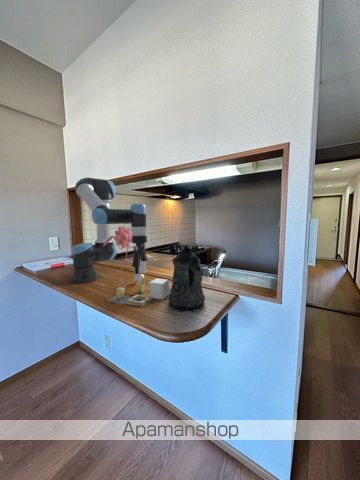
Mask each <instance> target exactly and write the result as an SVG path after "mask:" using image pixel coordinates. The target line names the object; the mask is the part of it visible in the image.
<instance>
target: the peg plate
mask: <svg viewBox="0 0 360 480" xmlns="http://www.w3.org/2000/svg"><path fill="white" fill-rule="evenodd" d="M115 290H116V295H115V296H113V297H112V298H109V299H108V300H107V302H109V303H110V302H111V303H115V304H121V305H123V304H124V303H127V300H128V299H130V298H132V297H133V295H125V288H124V286H123V287H122V286H121V287H120V286H119V288H116V289H115Z"/></svg>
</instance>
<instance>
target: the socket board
mask: <svg viewBox="0 0 360 480" xmlns="http://www.w3.org/2000/svg"><path fill="white" fill-rule="evenodd" d="M132 296H133V295H132ZM150 301H152V298H151V297H150V295H144V294H138V293H137V294H135V295H134V296H133V297H132V298H130V299H128V300H127V301H126V305H130V306H135V307H143V306H145V305H146V304H147V303H149V302H150Z"/></svg>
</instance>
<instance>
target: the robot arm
mask: <svg viewBox="0 0 360 480" xmlns="http://www.w3.org/2000/svg"><path fill="white" fill-rule="evenodd" d="M74 191H75V194H76V195H77V196H78V198H80V199H81V200H82V201H83V202H84V203H85V204H86V206H87V207H88V208H89V209H90V210H91V220H92V222H93V223H94V224H95V225H96V238H97V239H96V240H94V244H93V242H86V243H85V242H84V243H79V244H76V245H74V246H73V247H72V265H73V270H72V274H71V277H70V282H71V283H73V284H85V283H91V282H94V281H96V280H97V279H98V275H97V272H96V269H95V267H94V263H98V262H104V261H106V262H107V261H111V260H114V259H115V257H116V255H117V245H116V242H115V243H114V239H111V241H110V242H109V243H108V244H106V245H105V246H103V245H104V243H105V241H106V240H107V239H108V238H110V237H111V236H112V235H111V225H115V224H118V225H121V224H122V225H123V224H124V225H126V224H127V225H128V224H130V225H131V226H130V227H131V228H130V232H131V234H132V236H131V237H132V242H131V243H132V244H135V245H134V246H133V247H134V248H133V256H132V263H133V264H132V266H131V267H132V268H133V270H134V271H133V272H134V276H135V280H141V277H140V274H147V261H148V257H147V253H146V252H147V251H146V243H148V236H147V234H148V233H147V232H148V230H147V229H148V228H147V208H146V205H145V204H144V203H143V204H142V203H135V204H133V203H132V204H130V208H129V209H127V208H126V209H125V208H124V209H121V208H119V209H118V208H111V203H112V201H113V200H114V199H115V197H116V193H117V192H116V191H117V190H116V187H115V184H114V183H113V181H111V180H109V179H102V178H95V177H92V178H91V177H82V178H80V179H79V180H78V181H77V182H76V183H75V186H74ZM134 276H133V277H134Z"/></svg>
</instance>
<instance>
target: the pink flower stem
mask: <svg viewBox="0 0 360 480" xmlns="http://www.w3.org/2000/svg"><path fill="white" fill-rule="evenodd" d="M130 229H131V228H130V227H126V226H125V225H124V226H122V225H120V226H118V229H117V230H114V234H115V235H111V237H110V238H108V239H107V240H106V241H105V243H104V245H103V246H105V245H106V244H108V243H109V242H110V241H111V240H113V241H115V245H116V246H117V247H118V249H119V250H123V249H125V248H126V251H125V252H126V254H125V259H123V260H124V261H123V264H122V266H121V268H120V274H121V275H120V276H121V278H120V282H119V283H118V284H117V285H118V286H117V288H120V286H121V285H122V286H123V288H124V291H125V290H126V286H125V282H126V281H124V280H125V279H124V278H123V270H122V269H123V267H124V265H125V264H126V265H128V264H132V265H133V262H131V261H130V260H129V259H128V258H127V257H128V251H129V250H128V249H129V248H133V249H134V246H130V245H129V244H130V243H132V236H133V235H132V232H131V230H130ZM131 280H132V282H133V283H137V280H135V276H133V277H132V279H131ZM145 283H147V281H146V282H145ZM117 288H116V289H117Z"/></svg>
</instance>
